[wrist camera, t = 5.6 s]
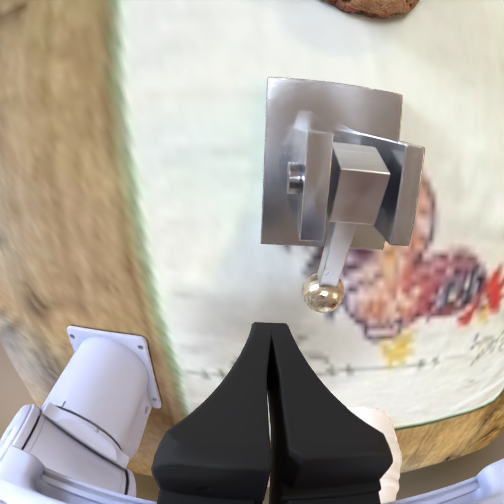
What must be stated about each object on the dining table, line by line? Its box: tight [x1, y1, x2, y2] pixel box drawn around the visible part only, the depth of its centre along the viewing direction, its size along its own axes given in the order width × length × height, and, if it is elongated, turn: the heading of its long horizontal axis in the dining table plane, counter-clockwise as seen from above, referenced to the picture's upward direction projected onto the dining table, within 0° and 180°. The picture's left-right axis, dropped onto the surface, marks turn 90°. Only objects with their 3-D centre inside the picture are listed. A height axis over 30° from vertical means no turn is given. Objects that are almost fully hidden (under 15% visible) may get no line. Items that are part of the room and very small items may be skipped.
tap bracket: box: [261, 77, 425, 250], centre depth 15 cm, size 10×8×7 cm
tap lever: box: [303, 142, 390, 313], centre depth 16 cm, size 11×3×3 cm, turn 178°
